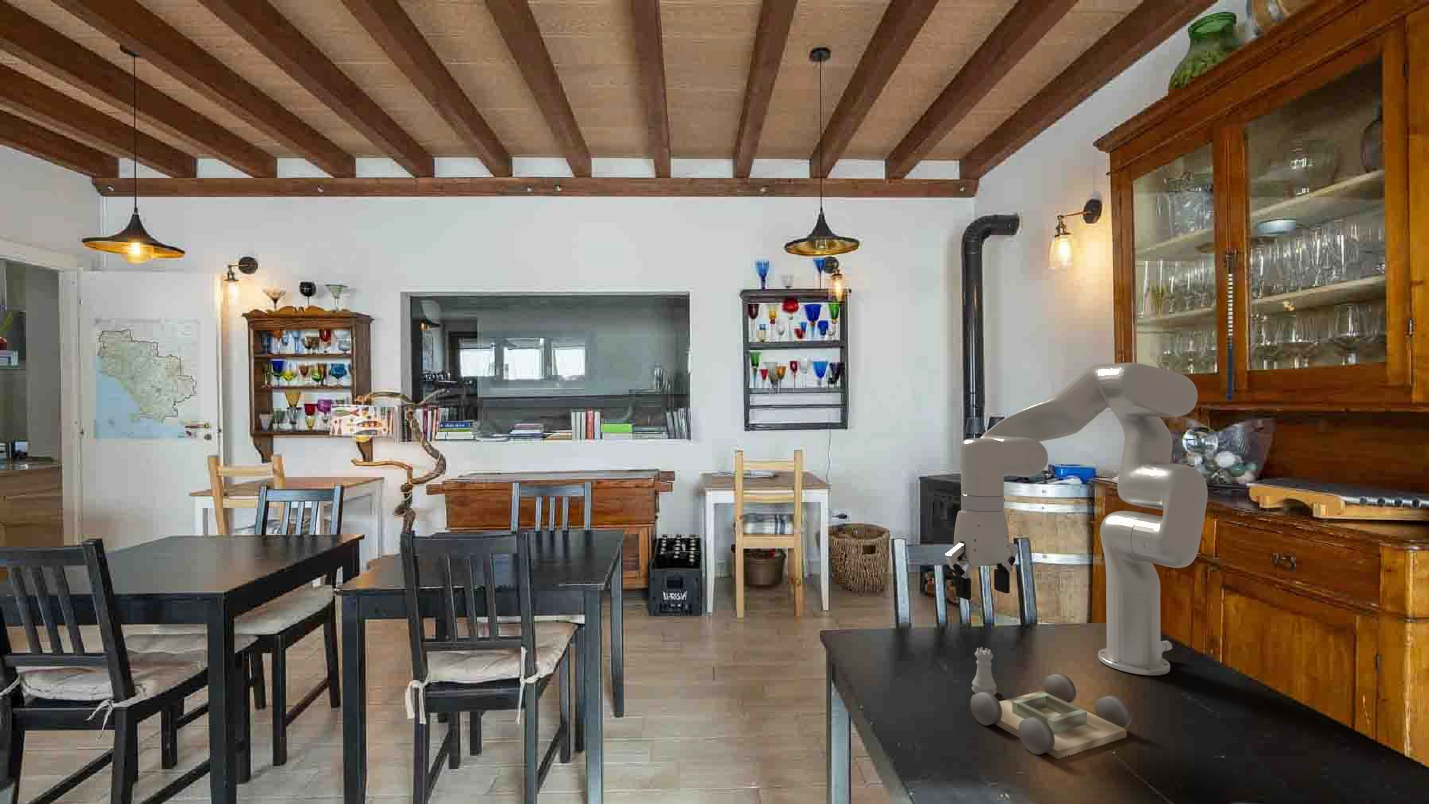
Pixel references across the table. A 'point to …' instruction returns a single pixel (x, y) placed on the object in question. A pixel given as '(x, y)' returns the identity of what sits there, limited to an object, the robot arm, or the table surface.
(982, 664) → the rook chess piece
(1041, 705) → the car chassis
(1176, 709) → the table surface
